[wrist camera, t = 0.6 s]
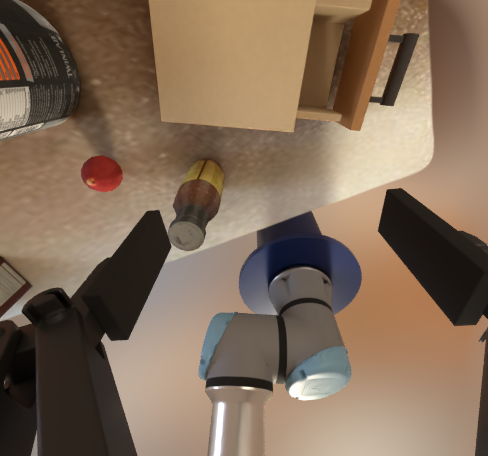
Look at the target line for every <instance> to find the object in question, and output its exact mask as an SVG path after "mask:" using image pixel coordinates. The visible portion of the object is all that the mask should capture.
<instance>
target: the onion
mask: <svg viewBox="0 0 488 456" xmlns="http://www.w3.org/2000/svg"><path fill="white" fill-rule="evenodd" d="M81 177H82V179H83V181H84V183H85V184H86V185H87V186H88V187H89V188H91V189H94V190H96V191H101V192H108V191H112V190H114V189H115V188H117V187H118V186H119V185H120V183H121V181H122V179H123V175H122V170H121V167H120V166H119V165H118V164H117V162H115V161H114V160H112V159H111V158H109V157H106V156H102V155H101V156H94V157H91V158H90V159H88V160H87V161H86V162H85V163H84V164H83V167H82V169H81Z"/></svg>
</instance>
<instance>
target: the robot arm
mask: <svg viewBox="0 0 488 456" xmlns="http://www.w3.org/2000/svg"><path fill="white" fill-rule="evenodd" d="M378 232H379V233H380V234H381V235H382V237H383V238H384V239H385V240H386V242H387V243H388V244H389V245H390V247H391V248H392V249H393V250H394V252H395V253H396V254H397V255H398V257H399V258H400V259H401V260H402V261H403V263H404V264H405V265H406V266H407V267H408V269H409V270H410V271H411V273H412V274H413V275H414V276H415V277H416V279H417V280H418V281H419V282H420V284H421V285H422V286H423V288H424V289H425V290H426V291H427V292H428V294H429V295H430V296H431V297H432V299H433V300H434V301H435V302H436V304H437V305H438V306H439V307H440V309H441V310H442V311H443V312H444V314H445V315H446V316H447V317H448V318H449V319H450V321H451V322H452V323H453V325H454V326H461V325H462V326H463V325H476V324H477V323H478V321H479V319H480V318H481V316H482V315H484V316H485V317H486V318H487V319H488V246H487V244H485V243H484V242H483V241H481V240H480V239H478V238H477V237H475V236H473V235H471V234H468V233H466V232H464V231H457V230H456V229H454V228H453V227H452V226H451V225H449V224H448V223H447V222H445V221H444V220H443V219H441V218H440V217H439V216H437V215H436V214H435V213H433V212H432V211H431V210H429V209H428V208H427V207H426V206H424V205H423V204H422V203H420V202H419V201H418V200H416V199H415V198H414V197H412V196H411V195H410V194H408V193H407V192H406V191H404V190H403V189H401V188H398V189H388V190H387V191H386V196H385V201H384V205H383V210H382V215H381V219H380V223H379V228H378ZM171 247H172V246H171V243H170V241H169V238H168V235H167V232H166V229H165V226H164V223H163V220H162V217H161V214H160V211H159V210H155V211H147V212H146V213H145V214H144V216H143V217H142V218H141V219H140V221H139V222H138V223H137V225H136V226H135V227H134V228H133V230H132V231H131V232H130V234H129V235H128V236H127V238H126V239H125V240H124V241H123V243H122V244H121V245H120V247H119V248H118V249H117V250H116V252H115V253H114V254H113V256H112V257H110V258H106V259H105V260H104V261H102V262H101V263H100V264H98V265H97V266H96V268H95V269H94V270H93V271H92V274H90V275H89V276H88V278H87V280H86V281H84V282H83V284H82V285H81V286H80V287H79V289H78V290H77V291H76V292H75V294H74V295H73V296H72V297H71V299H70V298H69V297H68V295H67V294H66V293H65V291H64V290H63V289H62V288H51V289H48V290H46V291H43V292H41V293H39V294H37V295H36V296H34V297H33V298H32V299H30V300H29V301H28V302H27V303H26V304H25V305H24V307H23V309H22V313H23V314H24V315H25V316H26V317H27V318H28V319H29V320H30V321H31V322H32V324H29V325H25V326H22V327H18V326H17V325H16V324H14V322H13V321H11V320H5V321H1V322H0V456H31V452H32V448H33V444H34V440H35V435H36V431H37V442H38V443H37V446H38V456H137V453H136V449H135V447H134V443H133V440H132V437H131V433H130V430H129V426H128V423H127V420H126V417H125V413H124V410H123V407H122V404H121V400H120V397H119V394H118V390H117V387H116V384H115V380H114V377H113V374H112V371H111V367H110V364H109V361H108V358H107V354H106V351H105V347H104V345H103V343H102V342H101V339H102V337H103V335H104V334H105V333H106V334H107V336H108V337H109V339H110V340H111V341H115V340H128V339H129V337H130V334H131V332H132V330H133V328H134V326H135V324H136V322H137V319H138V317H139V315H140V313H141V311H142V309H143V307H144V305H145V302H146V300H147V298H148V296H149V294H150V292H151V290H152V287H153V285H154V283H155V281H156V279H157V277H158V275H159V273H160V270H161V268H162V266H163V264H164V262H165V260H166V258H167V256H168V253H169V251H170V249H171ZM268 291H269V298H270V300H271V302H272V304H273V306H274V308H275V310H276V312H277V314H278V316H277V315H262V314H247V313H238V312H234V313H218V314H216V315H215V316H214V317H213V318H212V320H211V322H210V325H209V327H208V330H207V333H206V336H205V340H204V344H203V348H202V353H201V360H200V365H199V377H200V378H201V379H203V380H204V381H205V380H206V388H205V392H206V393H207V395H208V397H209V398H210V400H211V402H212V404H213V407H212V416H211V426H210V436H209V445H208V456H265V450H264V449H265V448H264V446H265V445H264V444H265V442H264V407H265V405H266V403H267V402H268V401H269V399H270V398H271V397H272V396H273V383H278V384H285V387H286V390H287V392H288V393H289V395H290V396H292V397H296V398H297V399H300V400H314V399H320V398H324V397H327V396H330V395H332V394H334V393H336V392H338V391H340V390H341V389H342V388H344V387H345V386H346V385H347V383H348V382H349V380H350V378H351V366H350V363H349V359H348V355H347V354H348V352H347V349H346V348H345V346H344V343H343V340H342V337H341V334H340V331H339V329H338V326H337V323H336V320H335V317H334V314H333V311H332V308H331V305H332V284H331V281H330V278H329V276H328V275H327V273H326V272H325V271H324V270H322V269H321V268H319V267H317V266H314V265H310V264H294V265H290V266H287V267H284V268H282V269H280V270H279V271H277V272H276V273H275V274H274V275H273V276H272V278H271V279H270V281H269V285H268ZM485 339H486V345H485V355H484V366H483V376H482V388H481V397H480V408H479V418H478V430H477V439H476V450H475V456H488V328H487V329H486V331H485V332H484V334H483V335H482V337H481V338H480V340H479V342H481V343H483V342H484V340H485ZM4 381H6V382H5V384H4Z"/></svg>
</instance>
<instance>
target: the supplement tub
mask: <svg viewBox="0 0 488 456" xmlns="http://www.w3.org/2000/svg"><path fill="white" fill-rule="evenodd" d="M79 96H80V79H79V75H78V70H77V67H76V64H75V61H74V59H73V57H72V55H71V53H70V52H69V50H68V48H67V46H66V45H65V43H64V41H63V40H62V38H61V36H60V35H59V33H58V32H57V31H56V30H55V28H54V27H53V26H52V25H51V24H50V23H49V22H48V21H47V20H46V19H45V18H44V17H43V16H41V15H40V14H39V13H38V12H37V11H35V10H34V9H32V8H31V7H30V6H28V5H26V4H25V3H23V2H21V1H19V0H0V141H2V140H6V139H9V138H13V137H17V136H20V135H24V134H27V133H31V132H35V131H39V130H42V129H46V128H49V127H53V126H56V125H58V124H61V123H62V122H64V121H66V120H67V119H69V118H70V117H71V116H72V114H73V113H74V112H75V110H76V108H77V106H78V101H79Z"/></svg>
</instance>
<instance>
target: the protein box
mask: <svg viewBox="0 0 488 456" xmlns="http://www.w3.org/2000/svg"><path fill="white" fill-rule="evenodd" d="M31 287H32V285H30V284H29V283H28V282H27V281H26V280H25V279H24V278H23V277H22V276H21V275H20V274H18V273H17V272H16V271H15V270H14V269H13V268H12V267H11V266H10V265H9V264H8V263H6V262H5V261H4V260H3V259H2V258H1V257H0V318H1V317H2V316H3V315H4V314H5V313H6V312H7V311H8V310H9V309H10V308H11V307H12V306H13V305H14V304H15V303H16V302H17V301H18V300H19V299H20V298H21V297H22V296H23V295H24V294H25V293H26V292H27V291H28V290H29V289H30V288H31Z"/></svg>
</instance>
